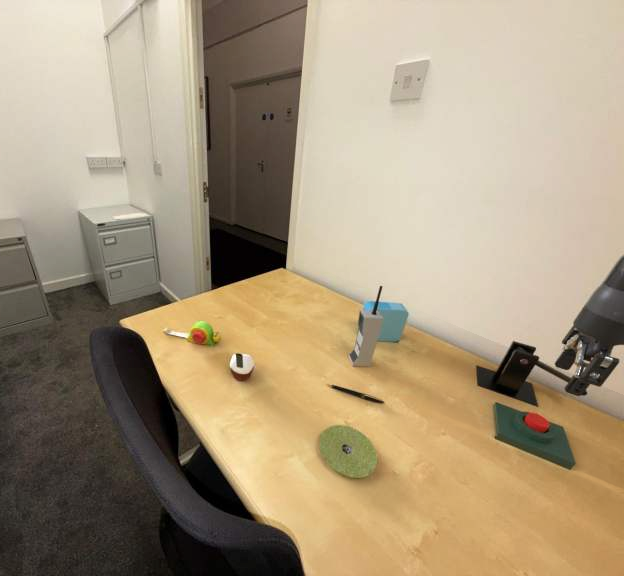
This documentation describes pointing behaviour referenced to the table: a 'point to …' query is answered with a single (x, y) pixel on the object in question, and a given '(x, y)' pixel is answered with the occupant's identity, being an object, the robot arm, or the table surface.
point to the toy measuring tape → (198, 334)
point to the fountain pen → (357, 394)
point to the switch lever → (550, 369)
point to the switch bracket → (511, 374)
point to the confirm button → (536, 422)
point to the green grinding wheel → (348, 451)
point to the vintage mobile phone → (367, 335)
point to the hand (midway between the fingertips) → (565, 379)
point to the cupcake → (241, 366)
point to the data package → (390, 319)
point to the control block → (532, 436)
